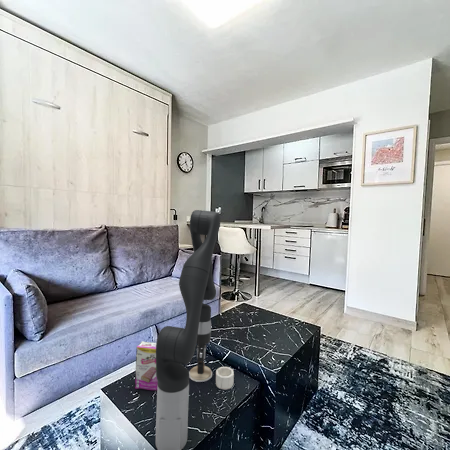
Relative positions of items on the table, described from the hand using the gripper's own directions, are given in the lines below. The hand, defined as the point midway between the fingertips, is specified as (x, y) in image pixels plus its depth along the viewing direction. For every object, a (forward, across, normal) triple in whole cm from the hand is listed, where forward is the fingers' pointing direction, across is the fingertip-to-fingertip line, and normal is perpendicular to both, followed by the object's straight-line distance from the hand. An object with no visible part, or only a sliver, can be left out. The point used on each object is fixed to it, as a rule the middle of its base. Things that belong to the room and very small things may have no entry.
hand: (200, 368), depth 105 cm
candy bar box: (+3, -8, +19) cm, 21 cm away
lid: (+2, 0, 0) cm, 2 cm away
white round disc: (+2, 0, 0) cm, 2 cm away
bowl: (+2, -6, -10) cm, 12 cm away
